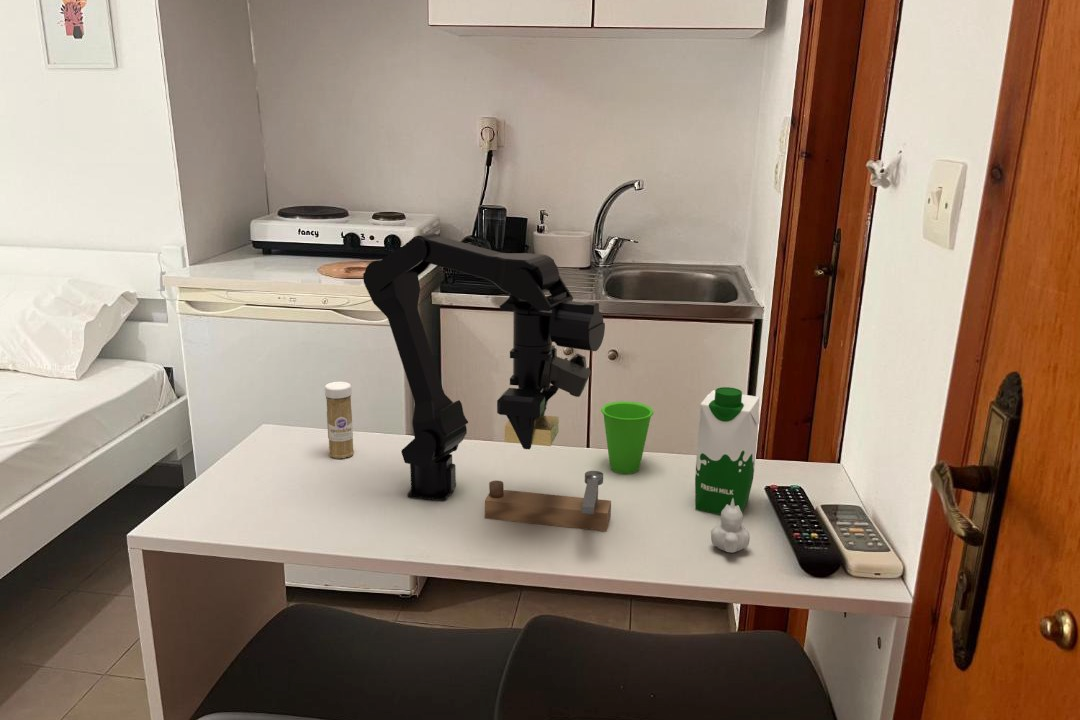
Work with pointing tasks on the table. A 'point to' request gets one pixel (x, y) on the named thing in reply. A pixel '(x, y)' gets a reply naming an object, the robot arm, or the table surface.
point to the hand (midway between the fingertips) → (531, 441)
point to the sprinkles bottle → (339, 419)
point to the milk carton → (726, 449)
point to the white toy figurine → (730, 530)
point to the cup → (626, 434)
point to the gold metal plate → (537, 431)
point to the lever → (591, 490)
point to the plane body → (544, 509)
